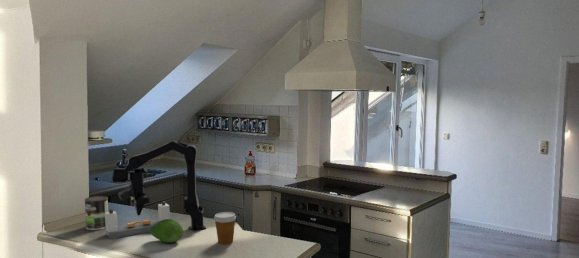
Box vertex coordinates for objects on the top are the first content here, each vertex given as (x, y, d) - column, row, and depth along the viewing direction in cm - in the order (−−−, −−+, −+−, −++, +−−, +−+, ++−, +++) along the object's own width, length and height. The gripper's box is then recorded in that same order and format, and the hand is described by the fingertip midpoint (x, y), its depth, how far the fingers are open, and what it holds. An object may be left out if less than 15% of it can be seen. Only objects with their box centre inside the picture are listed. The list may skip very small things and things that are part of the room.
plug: (170, 221, 221) (169, 202, 220) (161, 223, 219) (161, 203, 218) (166, 219, 225) (166, 200, 224) (158, 220, 223) (157, 201, 222)
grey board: (171, 227, 220) (171, 222, 219) (109, 238, 205) (109, 233, 204) (166, 223, 226) (165, 218, 226) (105, 234, 211) (105, 228, 211)
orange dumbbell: (150, 223, 217) (150, 220, 217) (128, 227, 211) (128, 223, 211) (148, 222, 219) (148, 219, 219) (127, 226, 214) (126, 223, 214)
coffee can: (97, 231, 216) (96, 201, 214) (81, 228, 220) (79, 199, 218) (113, 225, 225) (112, 196, 224) (97, 222, 229) (96, 195, 228)
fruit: (145, 242, 199) (144, 220, 198) (161, 235, 208) (160, 214, 207) (172, 247, 193) (172, 224, 192) (188, 240, 201) (187, 218, 200)
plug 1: (118, 230, 208) (116, 210, 207) (108, 232, 206) (107, 211, 205) (115, 228, 212) (114, 207, 211) (106, 229, 210) (105, 209, 209)
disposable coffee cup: (227, 247, 192) (226, 219, 191) (209, 243, 198) (209, 215, 196) (241, 240, 201) (240, 213, 199) (224, 236, 206) (223, 210, 204)
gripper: (114, 181, 217) (116, 213, 218) (124, 188, 201) (125, 223, 203) (138, 178, 223) (139, 209, 224) (149, 185, 207) (151, 218, 209)
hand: (138, 215), depth 215 cm, fingers closed
